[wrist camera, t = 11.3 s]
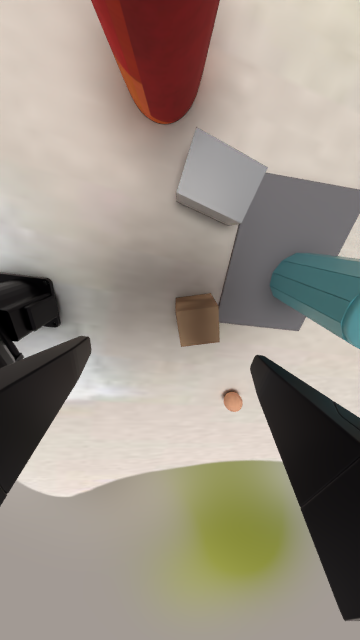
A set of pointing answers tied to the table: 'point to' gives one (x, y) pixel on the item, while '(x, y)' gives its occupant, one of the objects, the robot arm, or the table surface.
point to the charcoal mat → (282, 245)
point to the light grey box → (218, 179)
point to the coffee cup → (159, 50)
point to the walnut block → (197, 319)
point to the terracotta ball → (233, 401)
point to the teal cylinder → (322, 291)
